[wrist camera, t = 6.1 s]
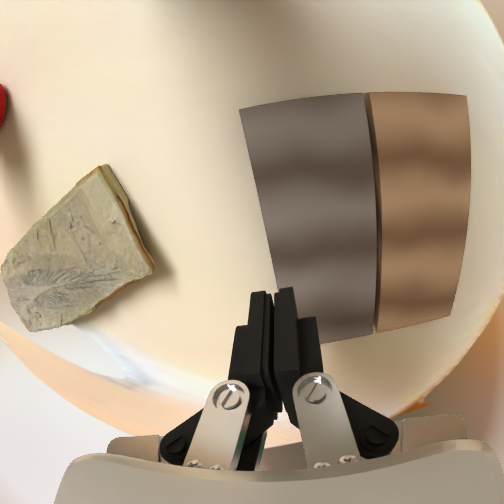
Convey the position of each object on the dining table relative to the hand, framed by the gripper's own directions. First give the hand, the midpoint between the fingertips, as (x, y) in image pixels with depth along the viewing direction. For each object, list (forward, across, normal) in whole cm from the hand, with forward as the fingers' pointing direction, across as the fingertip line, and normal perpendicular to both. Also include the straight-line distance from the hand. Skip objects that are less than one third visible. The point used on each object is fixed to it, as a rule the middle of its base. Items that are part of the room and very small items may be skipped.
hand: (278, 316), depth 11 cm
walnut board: (+12, -13, +3) cm, 18 cm away
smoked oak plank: (+12, -3, +3) cm, 13 cm away
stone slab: (+13, +26, +2) cm, 30 cm away
